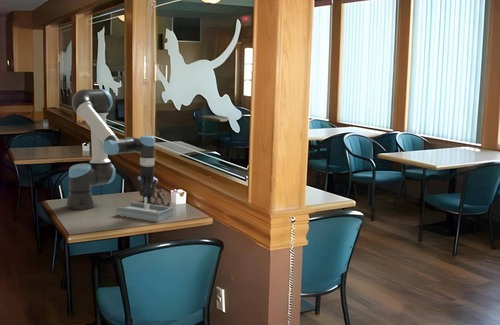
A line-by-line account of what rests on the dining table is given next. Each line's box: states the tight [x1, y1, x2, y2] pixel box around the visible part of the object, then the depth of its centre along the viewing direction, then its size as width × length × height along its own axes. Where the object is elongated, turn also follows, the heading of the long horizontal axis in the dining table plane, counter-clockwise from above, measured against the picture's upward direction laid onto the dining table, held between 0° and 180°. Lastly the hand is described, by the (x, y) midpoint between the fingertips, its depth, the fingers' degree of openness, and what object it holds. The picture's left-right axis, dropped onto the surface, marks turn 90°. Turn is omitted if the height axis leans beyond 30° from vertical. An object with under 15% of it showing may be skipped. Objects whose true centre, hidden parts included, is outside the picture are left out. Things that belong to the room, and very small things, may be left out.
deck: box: [116, 201, 174, 223], centre depth 310 cm, size 26×14×4 cm, turn 67°
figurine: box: [151, 183, 170, 207], centre depth 335 cm, size 11×10×30 cm
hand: (146, 208), depth 309 cm, fingers closed
